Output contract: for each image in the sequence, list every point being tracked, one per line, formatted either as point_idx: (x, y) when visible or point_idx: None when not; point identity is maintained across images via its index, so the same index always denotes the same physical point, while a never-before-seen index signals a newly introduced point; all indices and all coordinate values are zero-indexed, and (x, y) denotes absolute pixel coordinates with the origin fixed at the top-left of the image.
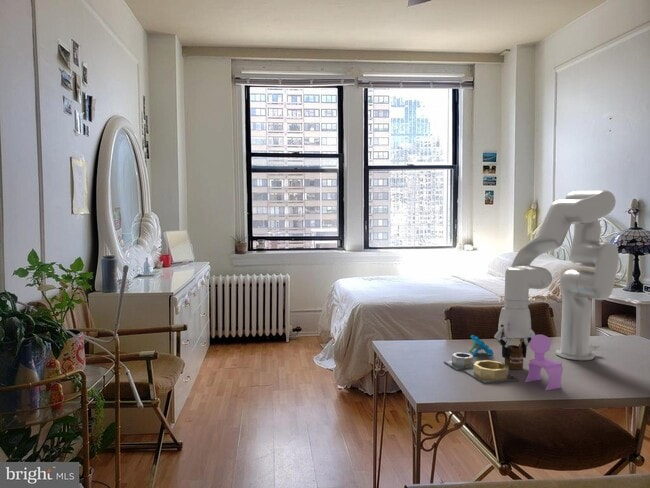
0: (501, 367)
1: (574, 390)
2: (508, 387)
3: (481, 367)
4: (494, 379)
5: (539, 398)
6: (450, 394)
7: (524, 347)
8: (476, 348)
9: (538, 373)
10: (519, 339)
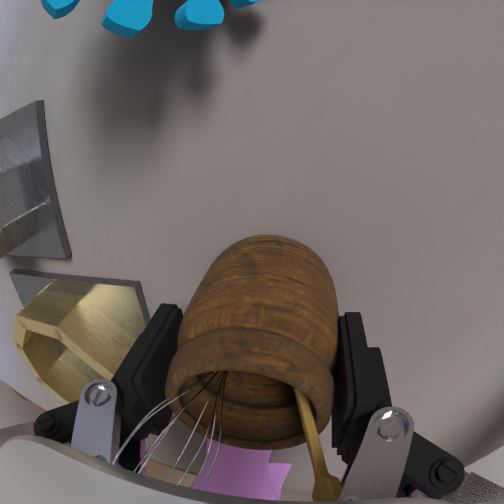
0: None
1: (310, 475)
2: None
3: (37, 375)
4: None
5: (181, 467)
6: (13, 375)
7: (333, 443)
8: None
9: (259, 453)
10: (353, 464)
